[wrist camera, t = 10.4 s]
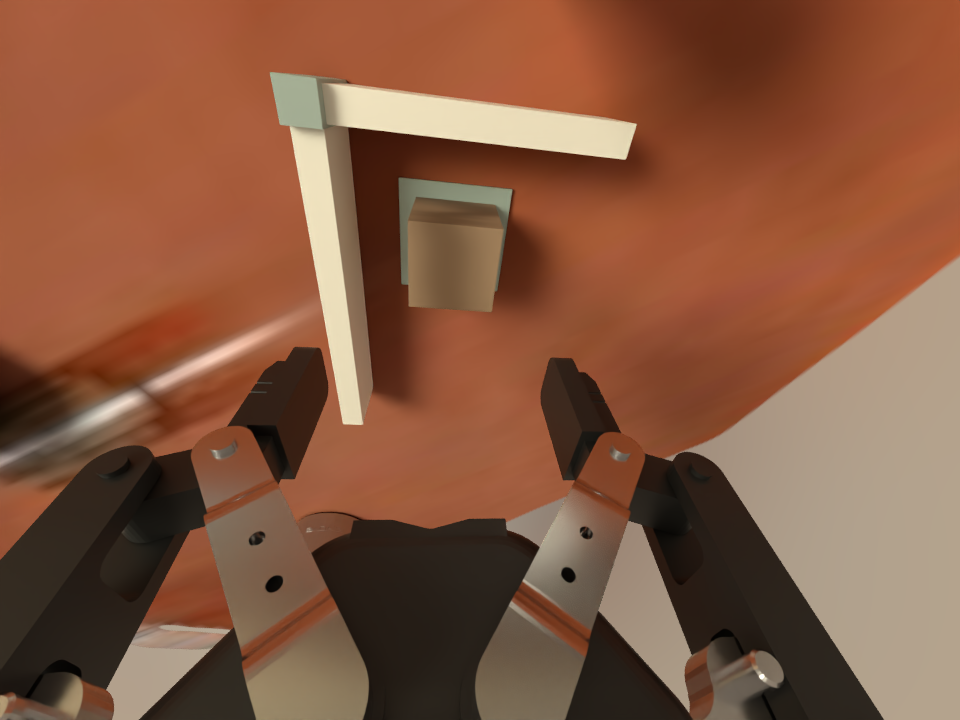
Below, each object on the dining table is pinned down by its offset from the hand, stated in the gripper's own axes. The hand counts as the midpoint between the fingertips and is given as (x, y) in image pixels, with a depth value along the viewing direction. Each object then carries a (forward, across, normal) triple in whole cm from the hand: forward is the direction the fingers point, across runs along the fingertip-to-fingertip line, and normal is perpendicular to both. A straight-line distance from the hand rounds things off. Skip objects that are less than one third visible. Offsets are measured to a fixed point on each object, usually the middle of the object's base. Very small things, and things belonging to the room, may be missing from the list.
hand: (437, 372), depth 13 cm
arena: (+14, -2, +3) cm, 15 cm away
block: (+14, -1, 0) cm, 14 cm away
